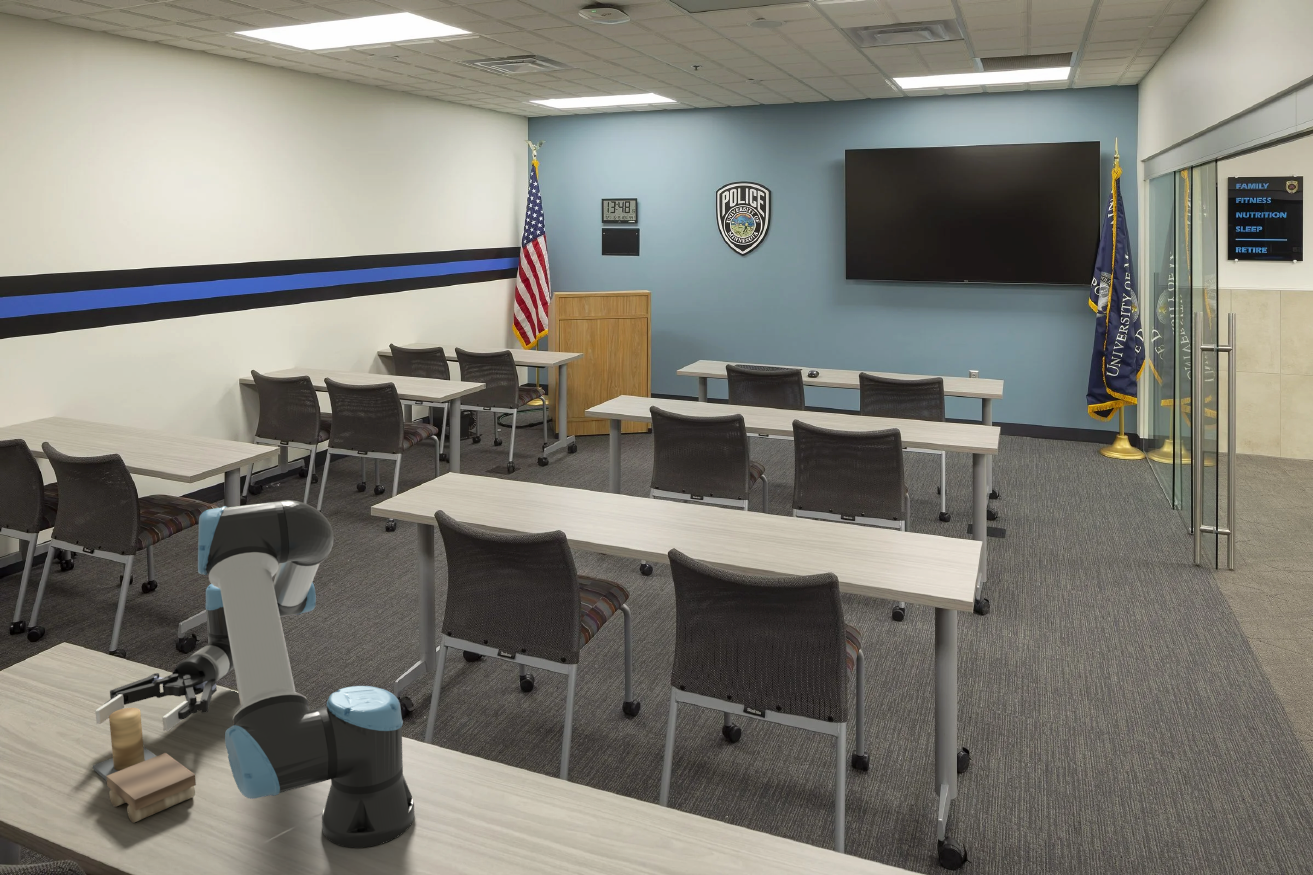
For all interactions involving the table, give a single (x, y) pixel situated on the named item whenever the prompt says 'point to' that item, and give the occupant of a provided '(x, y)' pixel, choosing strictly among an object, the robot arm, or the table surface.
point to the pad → (108, 766)
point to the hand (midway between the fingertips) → (130, 720)
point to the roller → (126, 738)
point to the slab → (151, 786)
